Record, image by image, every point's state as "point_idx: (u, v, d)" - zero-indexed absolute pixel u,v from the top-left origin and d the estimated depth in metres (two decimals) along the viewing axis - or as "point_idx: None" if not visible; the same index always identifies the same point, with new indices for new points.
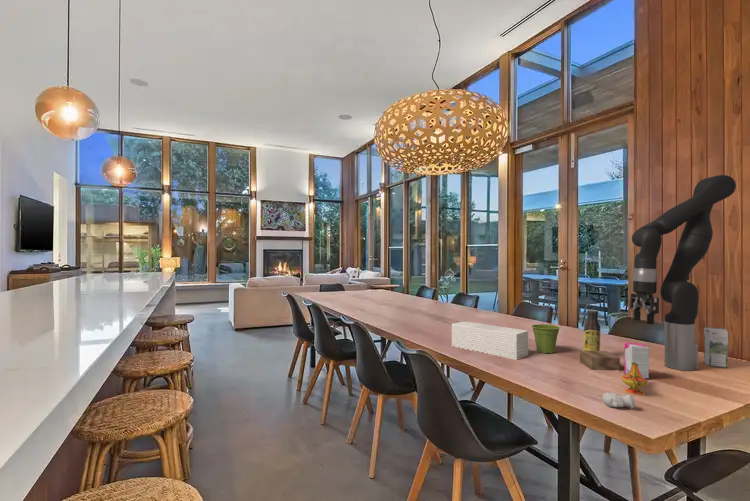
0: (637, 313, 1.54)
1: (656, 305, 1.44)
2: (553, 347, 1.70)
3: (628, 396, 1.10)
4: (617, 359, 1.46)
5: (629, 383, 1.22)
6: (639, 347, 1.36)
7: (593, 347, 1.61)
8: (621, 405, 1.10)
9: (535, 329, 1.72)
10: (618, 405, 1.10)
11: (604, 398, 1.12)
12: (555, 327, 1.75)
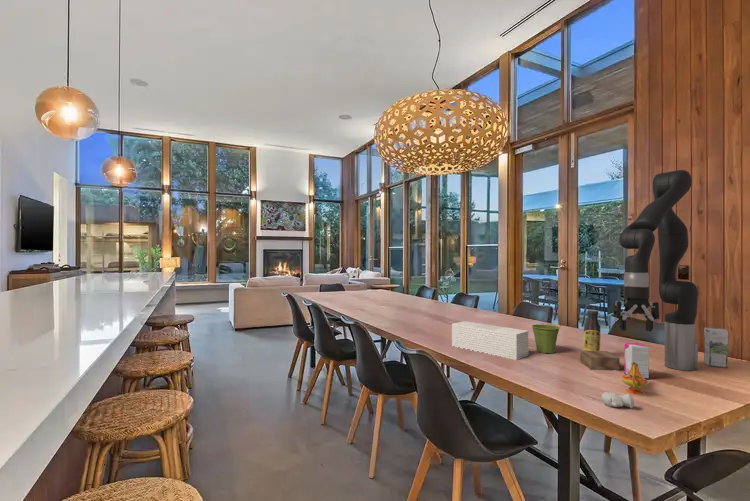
0: None
1: None
2: (553, 347, 1.70)
3: (627, 395, 1.10)
4: (617, 359, 1.46)
5: (629, 383, 1.22)
6: (639, 347, 1.36)
7: (593, 347, 1.61)
8: (620, 405, 1.10)
9: (535, 329, 1.72)
10: (617, 405, 1.10)
11: (603, 398, 1.13)
12: (555, 327, 1.75)
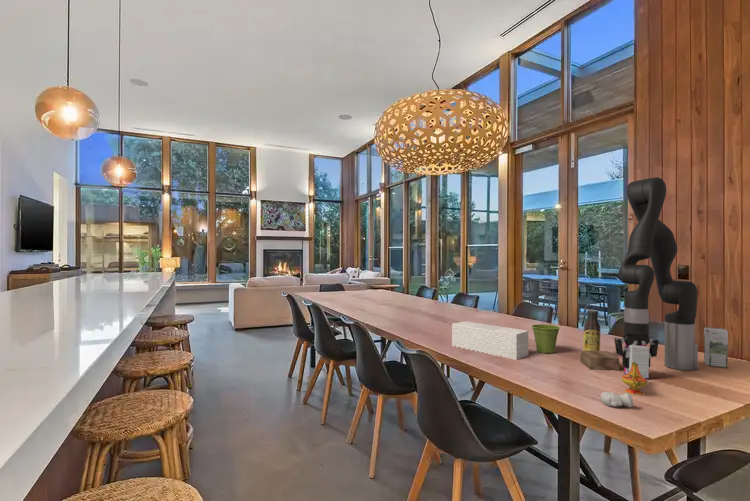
0: None
1: None
2: (553, 347, 1.70)
3: (626, 395, 1.11)
4: (616, 359, 1.46)
5: (629, 383, 1.22)
6: (639, 347, 1.36)
7: (593, 347, 1.61)
8: (620, 404, 1.10)
9: (535, 329, 1.72)
10: (617, 404, 1.10)
11: (603, 397, 1.13)
12: (555, 327, 1.75)
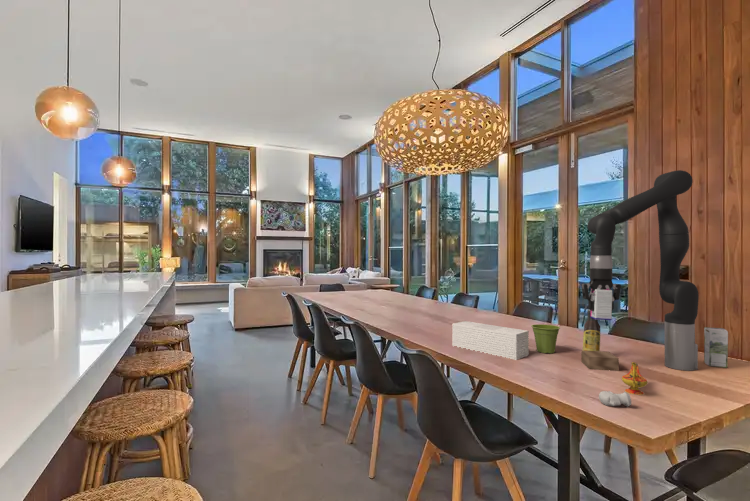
0: None
1: None
2: (553, 347, 1.70)
3: (624, 394, 1.11)
4: (616, 359, 1.45)
5: (629, 383, 1.22)
6: (603, 290, 1.48)
7: (593, 347, 1.61)
8: (618, 403, 1.11)
9: (535, 329, 1.72)
10: (615, 403, 1.11)
11: (601, 397, 1.13)
12: (555, 327, 1.75)
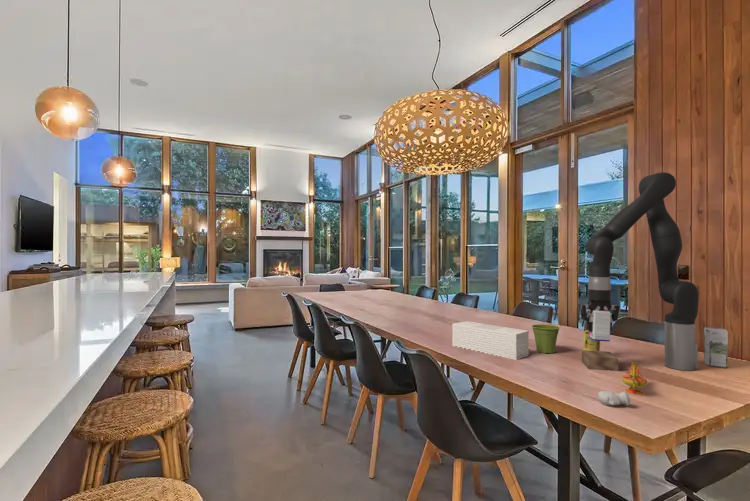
0: None
1: None
2: (553, 347, 1.70)
3: (623, 394, 1.12)
4: (615, 359, 1.45)
5: (629, 383, 1.22)
6: (601, 312, 1.48)
7: (593, 347, 1.61)
8: (617, 403, 1.11)
9: (535, 329, 1.72)
10: (615, 403, 1.11)
11: (600, 397, 1.13)
12: (555, 327, 1.75)
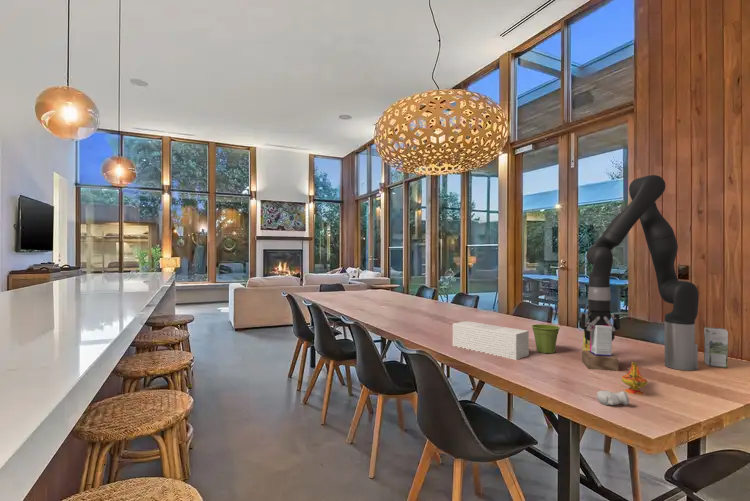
0: None
1: None
2: (553, 347, 1.70)
3: (622, 393, 1.12)
4: (615, 360, 1.45)
5: (629, 383, 1.22)
6: (603, 327, 1.49)
7: None
8: (616, 403, 1.11)
9: (535, 329, 1.72)
10: (614, 403, 1.11)
11: (599, 397, 1.14)
12: (555, 327, 1.75)
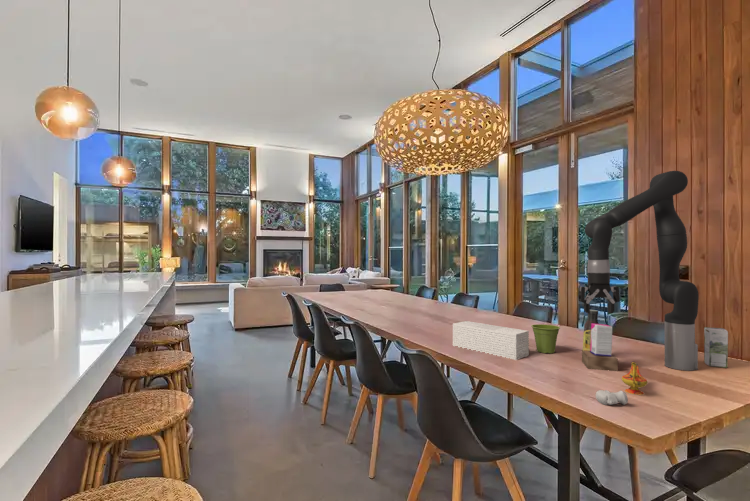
0: None
1: None
2: (553, 347, 1.70)
3: (621, 393, 1.13)
4: (615, 360, 1.45)
5: (629, 383, 1.22)
6: (603, 326, 1.48)
7: None
8: (616, 402, 1.12)
9: (535, 329, 1.72)
10: (613, 402, 1.12)
11: (599, 396, 1.14)
12: (555, 327, 1.75)
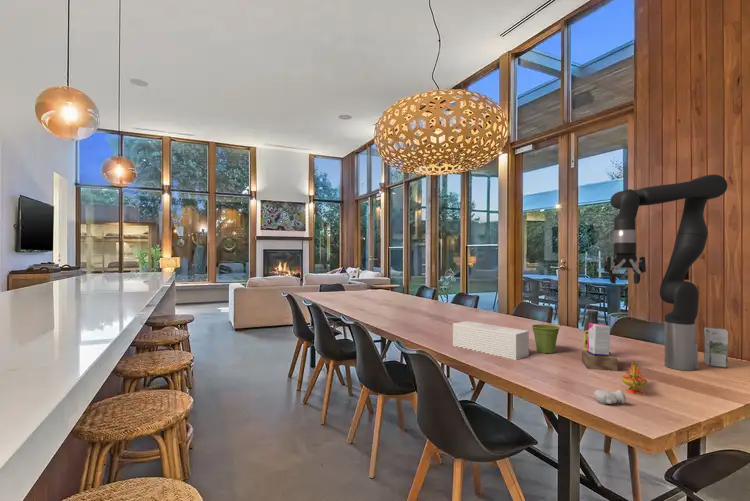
0: None
1: None
2: (553, 347, 1.70)
3: (619, 392, 1.13)
4: (614, 360, 1.45)
5: (629, 383, 1.22)
6: (602, 326, 1.49)
7: None
8: (614, 401, 1.12)
9: (535, 329, 1.72)
10: (612, 402, 1.12)
11: (597, 396, 1.14)
12: (555, 327, 1.75)
